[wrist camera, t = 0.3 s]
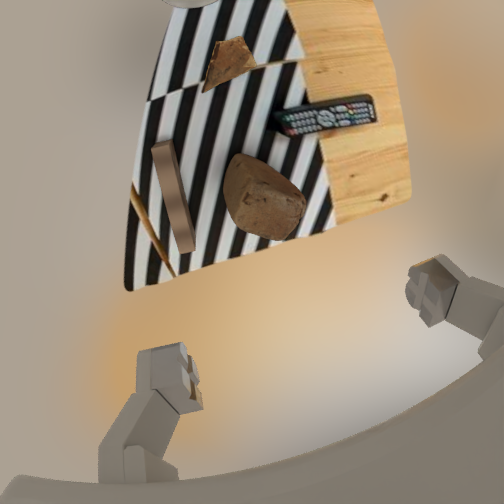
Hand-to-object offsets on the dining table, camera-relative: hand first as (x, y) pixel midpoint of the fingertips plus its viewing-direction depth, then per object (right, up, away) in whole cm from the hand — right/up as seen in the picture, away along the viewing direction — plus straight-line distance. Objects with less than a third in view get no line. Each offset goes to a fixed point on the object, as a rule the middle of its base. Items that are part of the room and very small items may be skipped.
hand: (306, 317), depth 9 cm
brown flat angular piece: (-5, +34, +35) cm, 49 cm away
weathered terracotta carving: (-2, +17, +46) cm, 49 cm away
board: (-16, +13, +45) cm, 49 cm away
